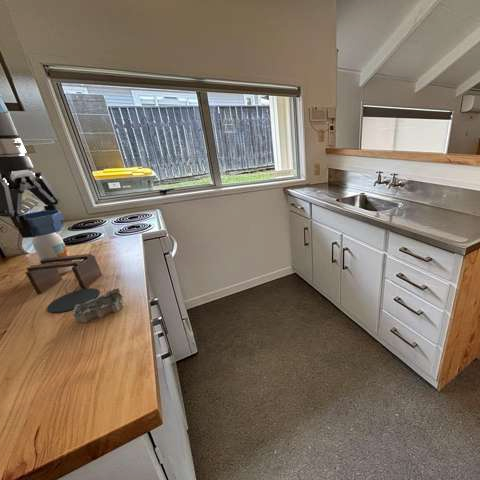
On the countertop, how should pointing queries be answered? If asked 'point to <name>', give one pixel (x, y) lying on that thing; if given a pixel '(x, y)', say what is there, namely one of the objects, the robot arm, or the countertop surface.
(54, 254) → the milk bottle
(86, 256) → the rack
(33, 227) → the bowl
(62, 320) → the countertop surface
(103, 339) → the countertop surface
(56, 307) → the mat
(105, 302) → the egg carton
